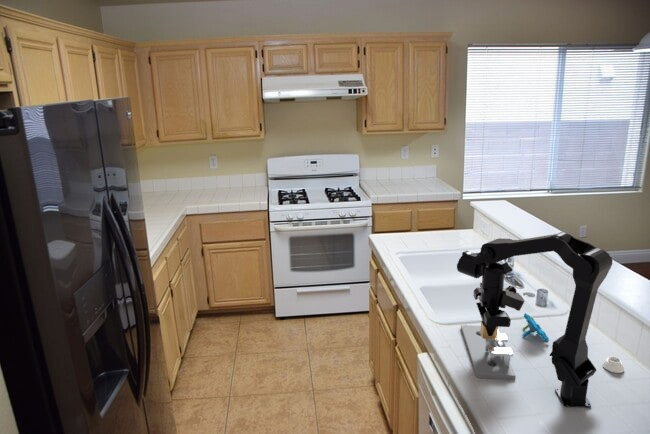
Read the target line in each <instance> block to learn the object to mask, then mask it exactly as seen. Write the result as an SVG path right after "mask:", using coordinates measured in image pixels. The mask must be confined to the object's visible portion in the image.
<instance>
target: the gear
mask: <svg viewBox="0 0 650 434" xmlns="http://www.w3.org/2000/svg"><path fill="white" fill-rule="evenodd" d="M523 318H524V319H525V321H526V323H527V325H525V326H524V327H523V328H522V331H525V330H526V332H524V333H523V334H522V338H523V339H525V338H527V337H528V336H529V335H531V334H532V333H536V334H537V335H538V336H540V337H541V339H542V340H543V341H545V342H546V343H548V342H549V341H550V339H549V337H548V335H547V334H546V332H545V331H544V330H543V329H542V327H541V326H540V324H539V323H537V321H536V320H535V319H534V318H533V317H531V315H529V314H528V313H524V314H523ZM528 328H529V330H527V329H528Z"/></svg>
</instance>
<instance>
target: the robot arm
mask: <svg viewBox="0 0 650 434" xmlns="http://www.w3.org/2000/svg"><path fill="white" fill-rule="evenodd" d="M549 252H555V254H557V255H558V256H559V258H560V259H561V260H562V261H563V263H564V264H565V265H567V266H568V267H569V268H570V269H572V279H573V282H574V284H575V288H574V292H573V297H572V301H571V304H570V309H569V315H568V318H567V323H566V326H565V327H566V328H565V331H564V334H563V335H561V336H560V337H558V338H556V339H555V340H554V341H553V342H552V346H551V348H552V349H551V353H549V356H550V357H551V363H552V365H553V366H554V369H555V373H556V376H557V380H558V381H559V382H561V385H560V387H555V388H554V391H555V393H556V395H557V396H558V399H559V400H560V402H561V404H562V405H563V407H571V408H572V407H575V408H580V407H581V408H592V404H591V402H590V400H589V399H588V398H587V394H588V387H589V379H590V378H591V377H593V376H594V375H595V373H596V372H597V368H596V367H595V365H594V363H592V361H591V360H590V358H589V356H588V355H589V346H588V344H587V341H586V337H587V334H588V330H589V326H590V325H589V324H590V322H591V318H592V313H593V310H594V306H595V302H596V298H597V293H598V290H599V288H600V286H602V284H603V282H604V281H605V279H606V278H607V276H608V274H609V272H610V270H611V267H612V266H613V257H611V255H610V253H608V251H606V250H605V249H602V248H597V247H596V246H594V245H593V244H591V243H590V242H587V241H585V240H582V239H579V238H576V237H575V236H573V235H571V234H570V233H568V232H564V231H561V232H558V233H554V234H549V235H542V236H535V237H529V238H524V239H523V238H522V239H512V238H496V239H494V240H491V241H488V242H486V243H484V244H481V247H480V252H478V254H477V253H473V252H471V251H469V250H465V251H463V252H461V253H462V254H461V256H460V257H459V259H458V261H457V263H456V270H457V272H458V273H460V274H462V275H463V274H464V275H467V276H469V277H472V278H475V279H480V277H482V278H481V279H482V280H481V282H479V287H476V288H475V289H474V290H473V298H474V300H479V302H476V303H475V304H476V307H477V310H478V312H479V315H480V318H481V321H483V322H484V325H485V328H486V331H487V334H488V336H492V335H493V333H494V331H495V329H496V327H498V328H509V327H511V324H512V323H511V321H512V319H511V318H510V316H509V314H508V313H507V312H506V311H505V310H502V309H506V307H508V308H511V309H514V310H515V311H518V312H520V311H521V309H522V307H523V306H524V303H525V299H524V298H523V296H522V295H521V294H520V293H519V292H517V289H516V287H515V286H513V285H508V286H507V287H505V288H504V284H505V275H507V274H509V273H511V272H513V268H512V267H511V266H510V265H509V264H508V263H507V262H504V263H500V262H503V261H505V260H507V259H510V258H513V257H517V256H525V255H533V254H534V255H535V254H541V253H549Z"/></svg>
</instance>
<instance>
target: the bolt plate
mask: <svg viewBox="0 0 650 434" xmlns="http://www.w3.org/2000/svg"><path fill="white" fill-rule="evenodd" d="M460 331H461V332H462V336H463V339H464V343H465V346H466V348H467V352H468V355H469V357H470V361H471V363H472V367H473V370H474V373H475V375H476V378H477V379H479V378H480V379H493V380H494V379H497V380H502V379H503V380H516V373H515V371H514V369H513V367H512V365H511V363H510V364H509V367H503V365H502V356H495V362H494V364H490V353H489V351H485V346H486V341H485V338H482V336H481V333H480V331H481V325H475V324H474V325H473V324H471V325H470V324H468V325H467V324H461V325H460ZM490 347H498V346H497V344H496V342H490Z"/></svg>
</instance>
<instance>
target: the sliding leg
mask: <svg viewBox="0 0 650 434" xmlns="http://www.w3.org/2000/svg"><path fill="white" fill-rule="evenodd" d="M480 326H481V331H480V333H481V336H482V338H485V341H486V346H485V351H488V347H490V342H504V343H508V340H509V339H508V336H507V335H506V333H502V332H501V333H500V332H499V333H497V332H498V331H499V327H496V329H495V331H494V333H493V335H492V336H488V334H487V331H486V328H485V325H484V322H483V321H482V320H481V321H480Z"/></svg>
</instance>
